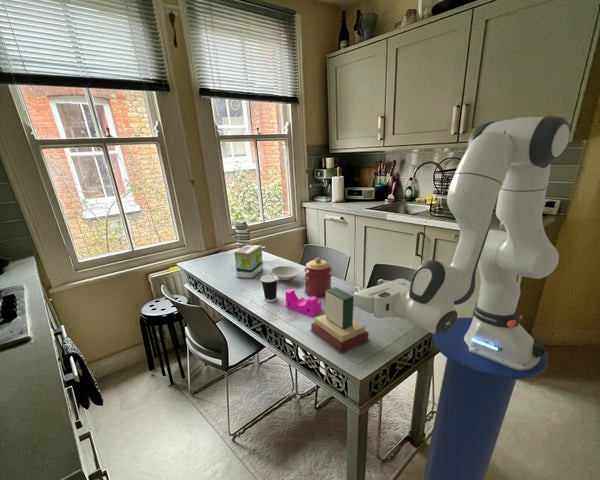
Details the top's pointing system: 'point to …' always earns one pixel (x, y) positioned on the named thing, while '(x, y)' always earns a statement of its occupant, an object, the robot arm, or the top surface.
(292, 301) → the toy block
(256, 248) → the tea box
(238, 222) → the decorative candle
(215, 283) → the top surface
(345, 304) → the book
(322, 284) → the kitchen canister
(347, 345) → the book stack
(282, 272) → the dish
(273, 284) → the dixie cup
